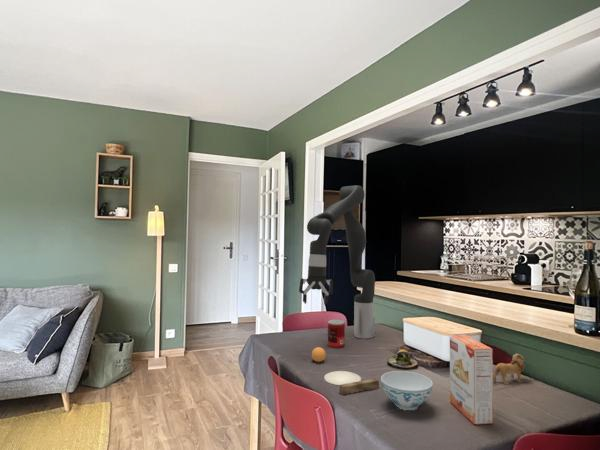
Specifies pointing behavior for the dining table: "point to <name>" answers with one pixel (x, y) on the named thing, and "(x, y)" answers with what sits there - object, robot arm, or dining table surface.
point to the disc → (341, 377)
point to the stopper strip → (358, 386)
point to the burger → (402, 360)
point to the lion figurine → (510, 369)
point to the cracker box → (471, 378)
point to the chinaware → (406, 388)
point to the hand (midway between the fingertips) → (315, 303)
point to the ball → (318, 354)
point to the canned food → (336, 333)
